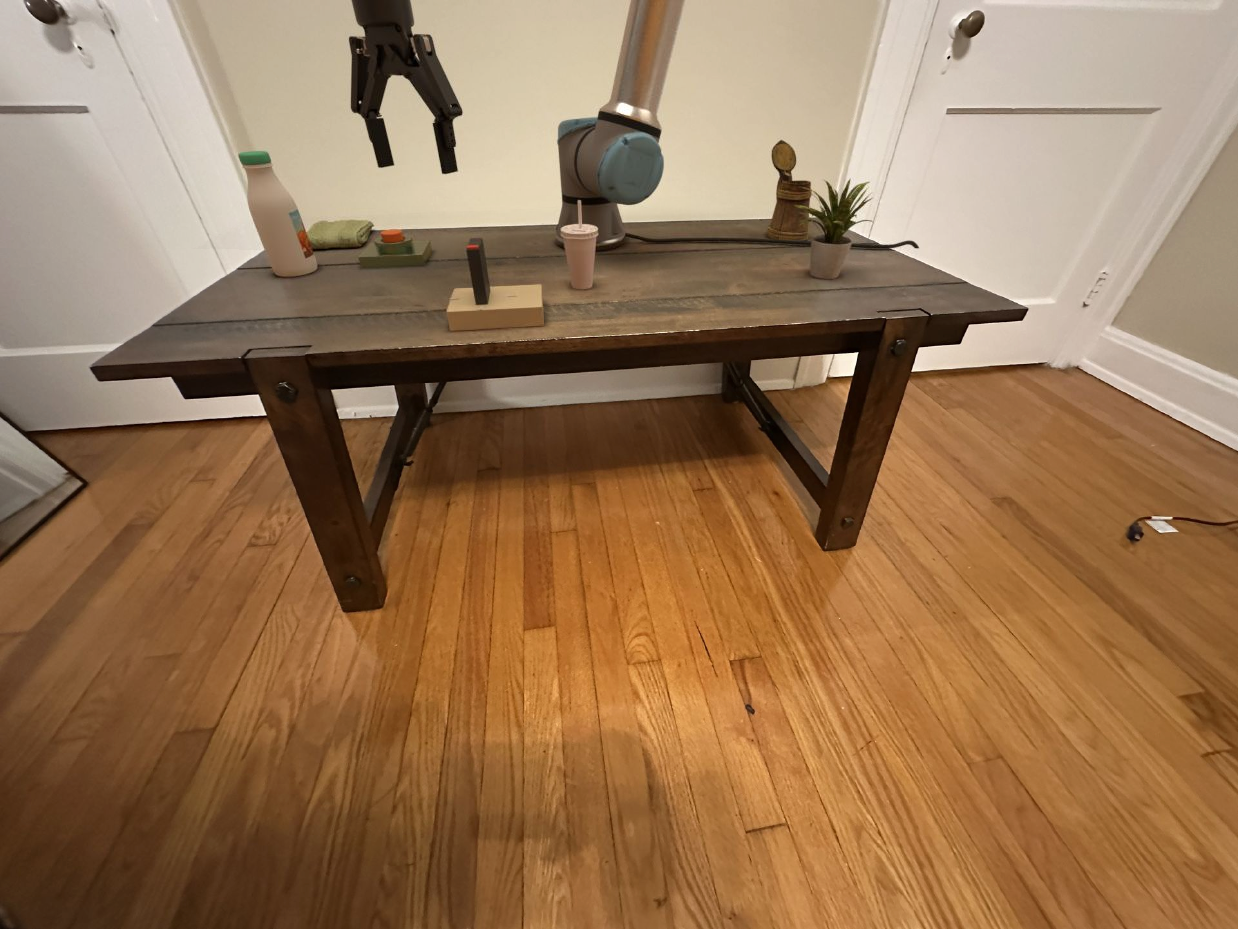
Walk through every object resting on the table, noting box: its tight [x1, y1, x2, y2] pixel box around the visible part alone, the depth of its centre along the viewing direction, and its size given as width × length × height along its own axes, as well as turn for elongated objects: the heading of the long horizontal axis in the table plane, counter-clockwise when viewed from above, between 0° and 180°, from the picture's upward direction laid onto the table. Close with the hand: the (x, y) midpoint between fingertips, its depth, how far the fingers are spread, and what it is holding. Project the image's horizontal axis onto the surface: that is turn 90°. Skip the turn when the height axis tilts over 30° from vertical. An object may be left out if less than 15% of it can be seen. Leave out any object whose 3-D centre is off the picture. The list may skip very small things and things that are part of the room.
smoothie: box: [561, 200, 598, 290], centre depth 91 cm, size 6×6×14 cm
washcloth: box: [306, 219, 375, 251], centre depth 119 cm, size 13×18×3 cm
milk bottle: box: [237, 150, 318, 278], centre depth 96 cm, size 8×8×20 cm
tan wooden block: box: [445, 283, 545, 332], centre depth 83 cm, size 14×10×3 cm
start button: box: [380, 228, 404, 242], centre depth 105 cm, size 4×4×2 cm
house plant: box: [794, 178, 875, 280], centre depth 95 cm, size 14×14×16 cm
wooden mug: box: [766, 139, 813, 241], centre depth 116 cm, size 9×14×18 cm, turn 17°
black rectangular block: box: [465, 237, 491, 305], centre depth 80 cm, size 6×2×8 cm, turn 7°
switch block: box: [358, 234, 433, 269], centre depth 107 cm, size 12×10×4 cm
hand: (417, 169), depth 83 cm, fingers open, 13 cm apart
